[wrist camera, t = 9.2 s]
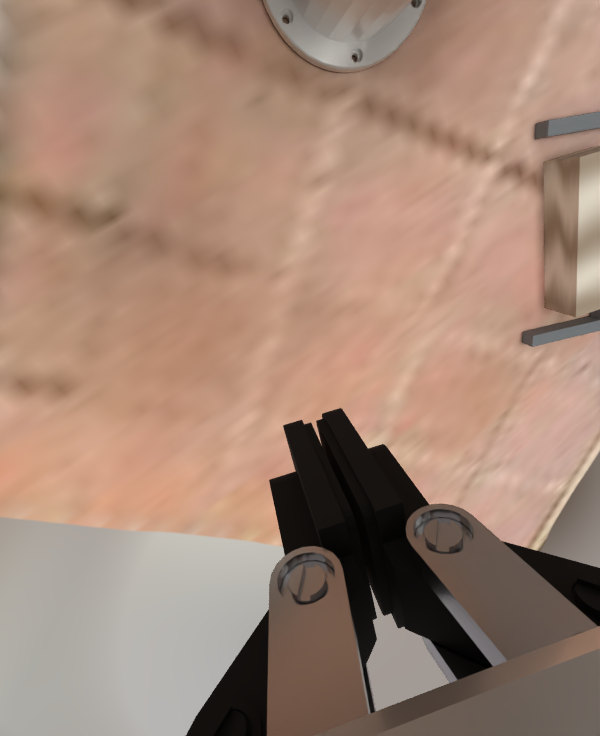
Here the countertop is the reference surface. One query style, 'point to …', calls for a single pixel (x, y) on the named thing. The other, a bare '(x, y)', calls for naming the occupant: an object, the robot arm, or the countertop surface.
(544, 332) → the dock
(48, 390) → the countertop surface
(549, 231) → the t block
